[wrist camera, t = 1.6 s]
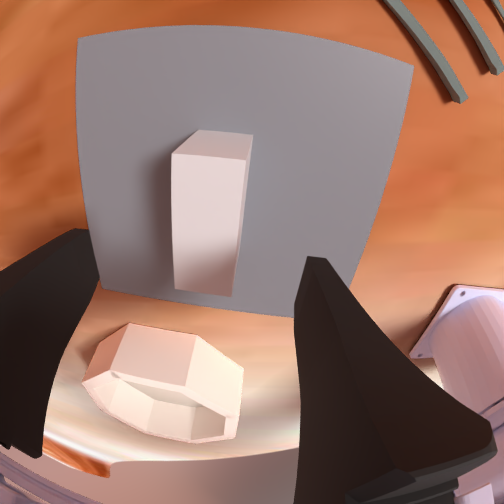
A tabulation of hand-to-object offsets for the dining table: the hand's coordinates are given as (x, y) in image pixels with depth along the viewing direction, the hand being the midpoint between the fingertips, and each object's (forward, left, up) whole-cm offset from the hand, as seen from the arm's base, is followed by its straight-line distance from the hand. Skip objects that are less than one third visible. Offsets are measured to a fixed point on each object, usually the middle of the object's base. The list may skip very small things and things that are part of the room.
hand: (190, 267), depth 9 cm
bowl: (+4, +18, -6) cm, 19 cm away
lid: (0, 0, -7) cm, 7 cm away
